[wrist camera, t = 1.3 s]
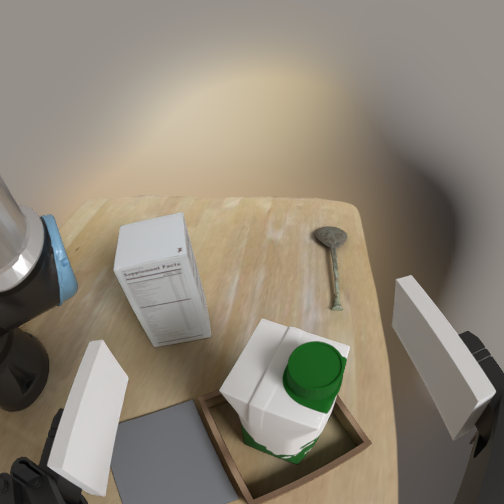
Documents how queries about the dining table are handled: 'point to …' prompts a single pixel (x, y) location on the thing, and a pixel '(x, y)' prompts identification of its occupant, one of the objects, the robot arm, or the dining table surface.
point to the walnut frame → (359, 440)
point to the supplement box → (162, 280)
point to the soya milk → (285, 388)
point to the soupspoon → (333, 254)
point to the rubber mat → (169, 460)
